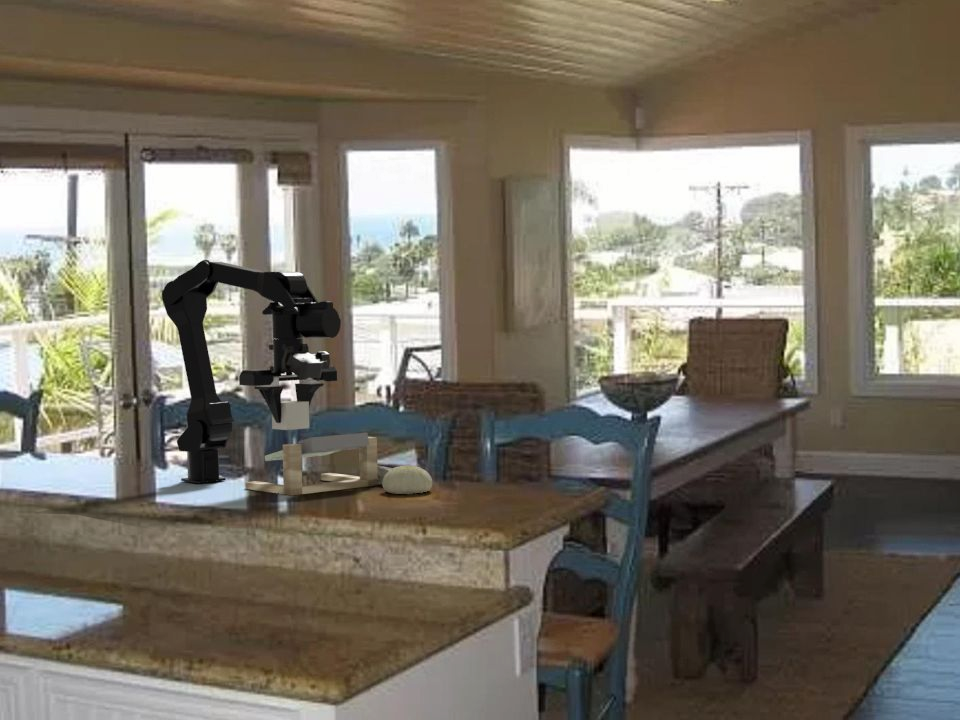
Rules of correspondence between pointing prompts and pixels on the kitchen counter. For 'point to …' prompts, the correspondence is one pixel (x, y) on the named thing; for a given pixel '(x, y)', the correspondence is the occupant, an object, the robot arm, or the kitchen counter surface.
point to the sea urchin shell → (407, 480)
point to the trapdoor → (326, 445)
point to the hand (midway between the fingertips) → (290, 421)
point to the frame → (338, 481)
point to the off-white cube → (293, 416)
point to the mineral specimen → (382, 473)
